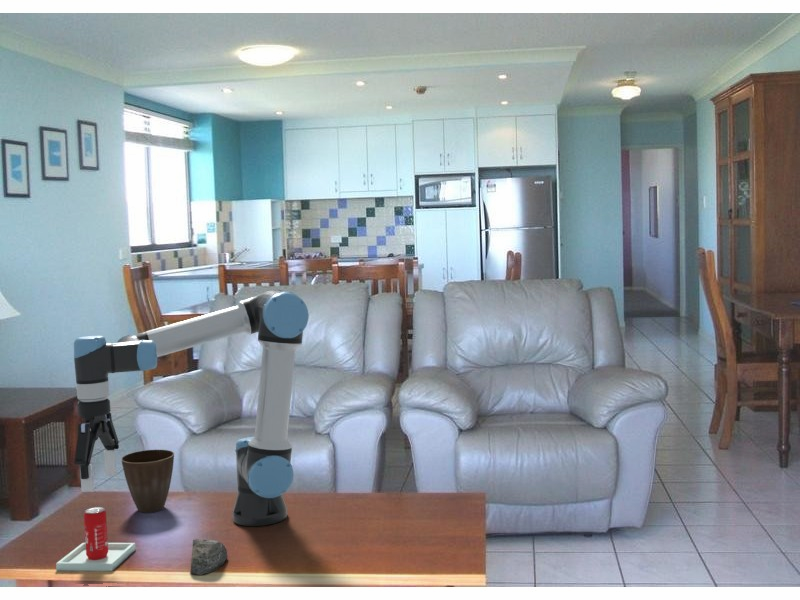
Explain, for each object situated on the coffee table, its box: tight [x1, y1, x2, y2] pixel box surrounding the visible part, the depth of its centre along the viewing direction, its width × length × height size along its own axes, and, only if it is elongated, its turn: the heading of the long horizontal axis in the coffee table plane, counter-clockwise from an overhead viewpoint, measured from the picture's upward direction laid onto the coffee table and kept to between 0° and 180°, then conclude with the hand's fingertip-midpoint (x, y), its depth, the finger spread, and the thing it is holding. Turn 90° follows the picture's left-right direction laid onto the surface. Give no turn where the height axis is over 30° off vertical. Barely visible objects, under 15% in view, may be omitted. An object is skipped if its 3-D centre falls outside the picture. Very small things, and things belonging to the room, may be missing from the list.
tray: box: [55, 542, 137, 572], centre depth 214 cm, size 14×14×2 cm
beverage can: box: [83, 506, 109, 560], centre depth 214 cm, size 5×5×12 cm
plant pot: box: [120, 449, 175, 514], centre depth 253 cm, size 15×15×16 cm
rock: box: [189, 539, 228, 576], centre depth 208 cm, size 13×9×6 cm, turn 10°
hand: (99, 483), depth 214 cm, fingers open, 13 cm apart
